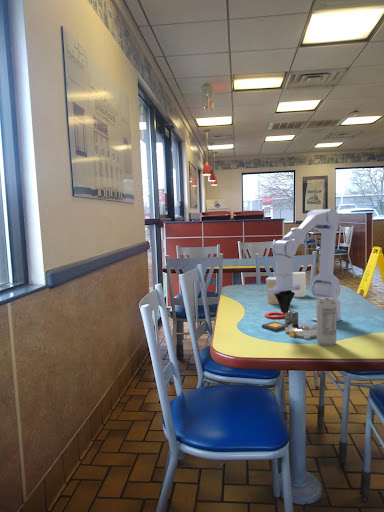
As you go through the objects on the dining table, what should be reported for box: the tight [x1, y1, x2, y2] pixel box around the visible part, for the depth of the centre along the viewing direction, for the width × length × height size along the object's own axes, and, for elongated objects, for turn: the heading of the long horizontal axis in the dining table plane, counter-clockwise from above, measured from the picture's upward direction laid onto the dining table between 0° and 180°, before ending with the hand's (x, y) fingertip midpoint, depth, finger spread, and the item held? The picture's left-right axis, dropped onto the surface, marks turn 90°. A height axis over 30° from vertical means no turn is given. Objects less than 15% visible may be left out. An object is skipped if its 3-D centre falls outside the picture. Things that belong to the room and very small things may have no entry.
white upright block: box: [291, 271, 307, 298], centre depth 195 cm, size 9×9×12 cm
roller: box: [284, 309, 295, 325], centre depth 144 cm, size 4×4×5 cm
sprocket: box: [284, 311, 317, 340], centre depth 132 cm, size 14×14×6 cm
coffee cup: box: [265, 276, 279, 305], centre depth 180 cm, size 9×9×12 cm
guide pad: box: [261, 321, 288, 332], centre depth 140 cm, size 7×7×1 cm
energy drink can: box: [316, 297, 337, 347], centre depth 120 cm, size 6×6×15 cm
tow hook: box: [264, 311, 285, 320], centre depth 155 cm, size 8×13×9 cm
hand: (284, 312), depth 131 cm, fingers closed
